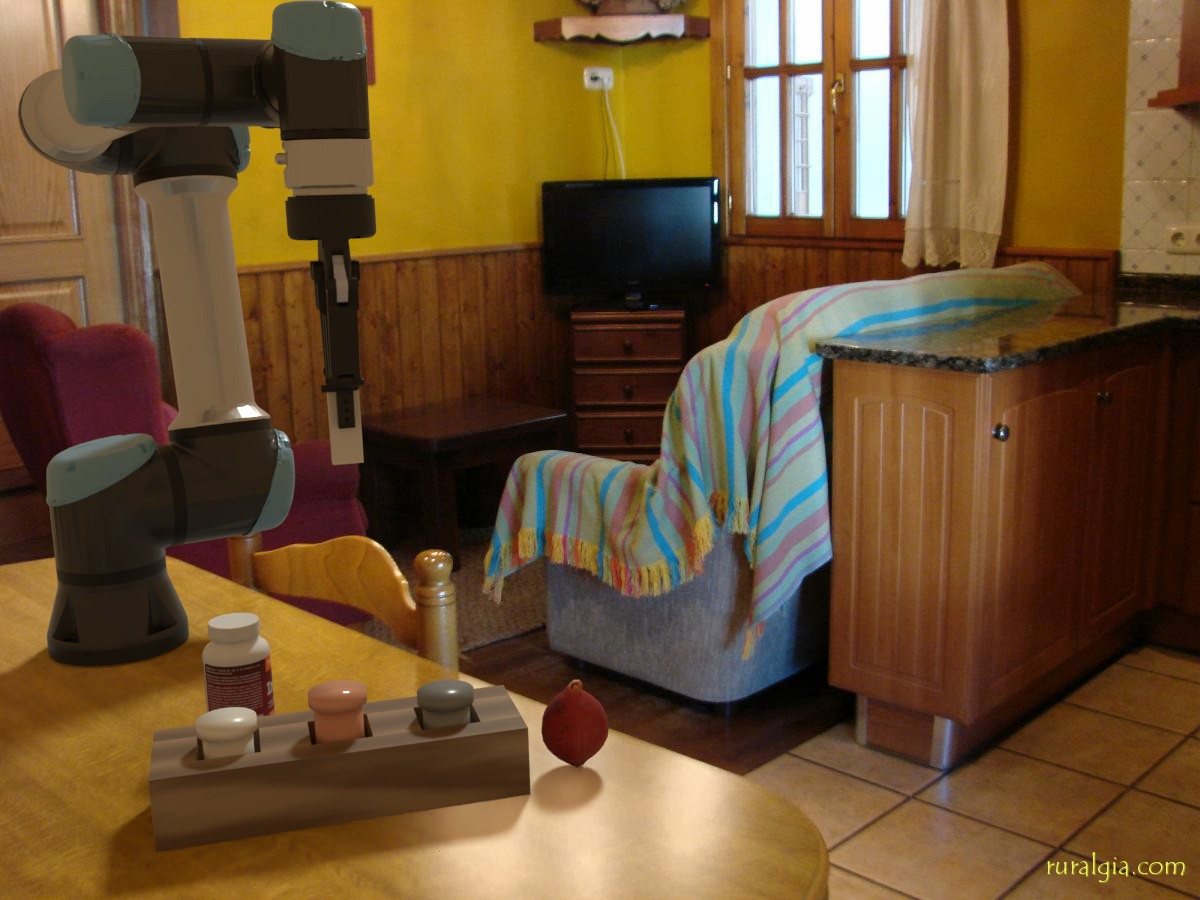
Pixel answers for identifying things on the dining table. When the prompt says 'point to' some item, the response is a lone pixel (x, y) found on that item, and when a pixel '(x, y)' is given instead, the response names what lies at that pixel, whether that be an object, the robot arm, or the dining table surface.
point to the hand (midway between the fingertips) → (347, 462)
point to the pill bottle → (238, 665)
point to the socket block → (335, 772)
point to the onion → (574, 725)
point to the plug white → (227, 732)
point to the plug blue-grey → (445, 703)
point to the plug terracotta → (338, 710)
